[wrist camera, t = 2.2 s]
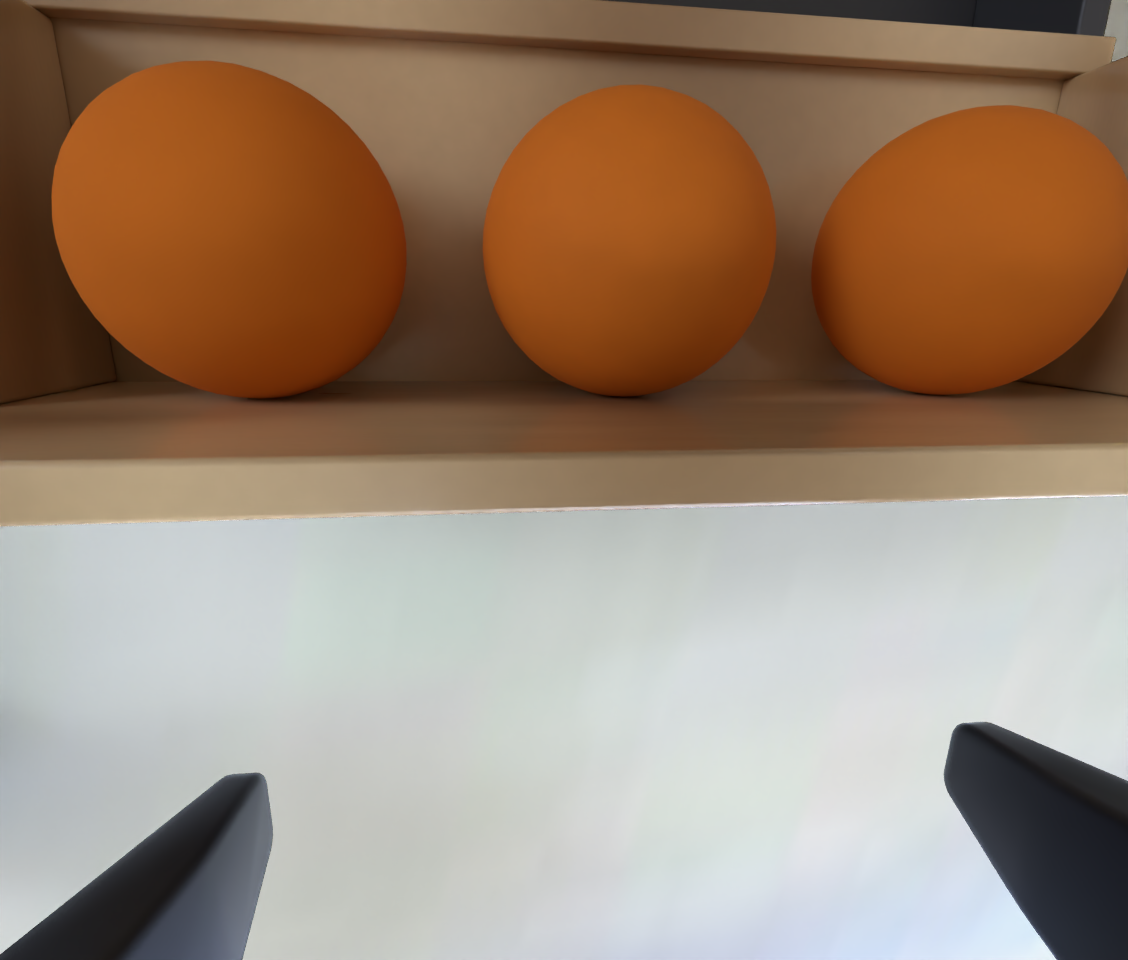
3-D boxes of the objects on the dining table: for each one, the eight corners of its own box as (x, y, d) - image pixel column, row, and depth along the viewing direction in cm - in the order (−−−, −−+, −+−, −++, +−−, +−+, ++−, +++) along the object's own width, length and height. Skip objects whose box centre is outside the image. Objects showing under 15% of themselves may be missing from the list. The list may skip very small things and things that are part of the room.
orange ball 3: (751, 342, 10) (858, 443, 7) (802, 95, 8) (975, 97, 6) (943, 343, 11) (1118, 438, 8) (1033, 109, 9) (1308, 116, 6)
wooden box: (108, 410, 9) (-363, 540, 4) (29, -12, 8) (-847, -624, 3) (998, 404, 11) (1448, 489, 6) (1069, 57, 10) (1744, -233, 5)
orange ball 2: (485, 341, 10) (486, 448, 7) (479, 78, 8) (477, 70, 5) (699, 342, 10) (787, 444, 7) (739, 92, 8) (880, 93, 5)
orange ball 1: (189, 340, 9) (53, 455, 6) (110, 58, 7) (-136, 35, 4) (427, 341, 10) (403, 450, 7) (408, 75, 8) (362, 63, 5)
